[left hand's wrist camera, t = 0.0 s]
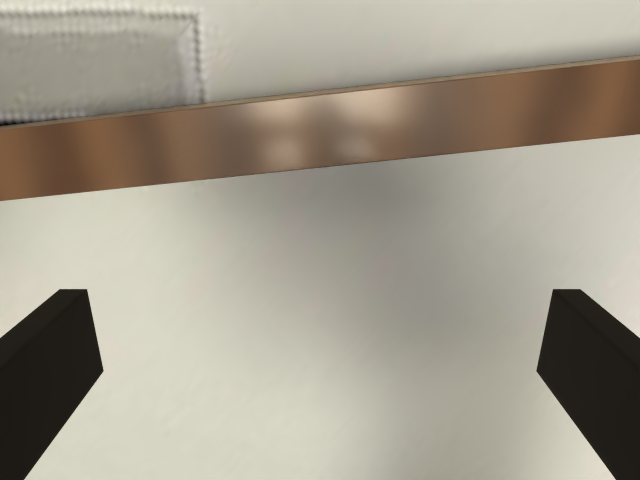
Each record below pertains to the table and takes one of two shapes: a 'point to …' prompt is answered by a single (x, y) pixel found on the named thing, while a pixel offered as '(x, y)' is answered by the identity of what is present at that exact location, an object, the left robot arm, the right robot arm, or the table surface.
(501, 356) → the table surface
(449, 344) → the table surface
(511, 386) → the table surface
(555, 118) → the post
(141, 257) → the table surface
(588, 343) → the left robot arm
